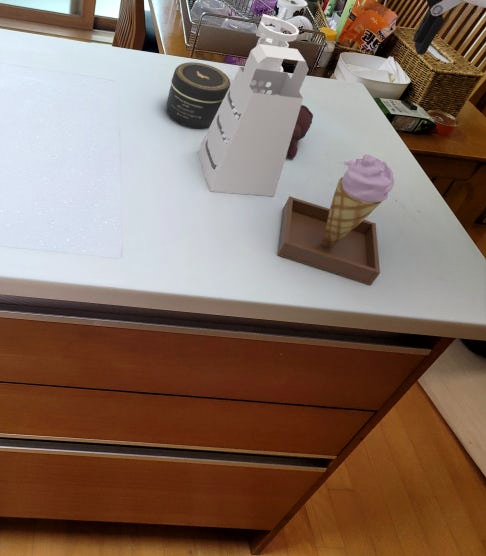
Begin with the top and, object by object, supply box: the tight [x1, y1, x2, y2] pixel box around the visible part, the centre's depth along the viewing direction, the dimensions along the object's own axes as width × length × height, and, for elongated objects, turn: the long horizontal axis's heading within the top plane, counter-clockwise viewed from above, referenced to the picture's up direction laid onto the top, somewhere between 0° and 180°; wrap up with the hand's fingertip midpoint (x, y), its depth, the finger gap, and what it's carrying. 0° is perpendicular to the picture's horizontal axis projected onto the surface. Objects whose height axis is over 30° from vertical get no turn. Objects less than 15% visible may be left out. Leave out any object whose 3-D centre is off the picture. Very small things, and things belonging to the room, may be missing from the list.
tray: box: [277, 196, 381, 286], centre depth 79 cm, size 13×11×2 cm
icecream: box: [286, 104, 314, 159], centre depth 96 cm, size 7×7×15 cm
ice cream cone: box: [323, 154, 395, 248], centre depth 74 cm, size 7×6×15 cm
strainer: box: [244, 13, 300, 94], centre depth 102 cm, size 7×7×15 cm
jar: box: [166, 61, 231, 129], centre depth 96 cm, size 10×10×8 cm
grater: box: [197, 44, 310, 197], centre depth 81 cm, size 10×10×20 cm
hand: (462, 61), depth 61 cm, fingers open, 9 cm apart
